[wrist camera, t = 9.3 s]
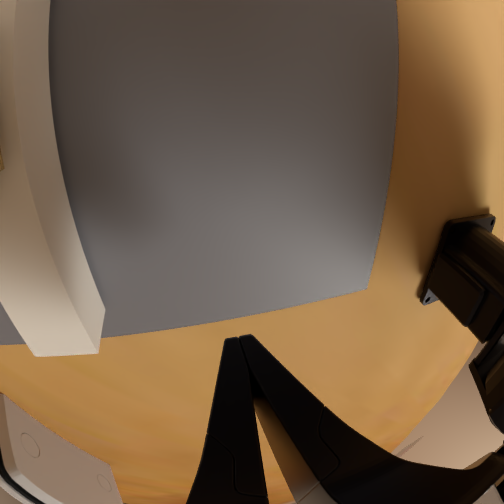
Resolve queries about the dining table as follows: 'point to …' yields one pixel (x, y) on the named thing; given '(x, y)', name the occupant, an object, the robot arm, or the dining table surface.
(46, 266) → the link
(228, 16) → the board
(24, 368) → the dining table surface
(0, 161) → the block
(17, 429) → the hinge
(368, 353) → the dining table surface
